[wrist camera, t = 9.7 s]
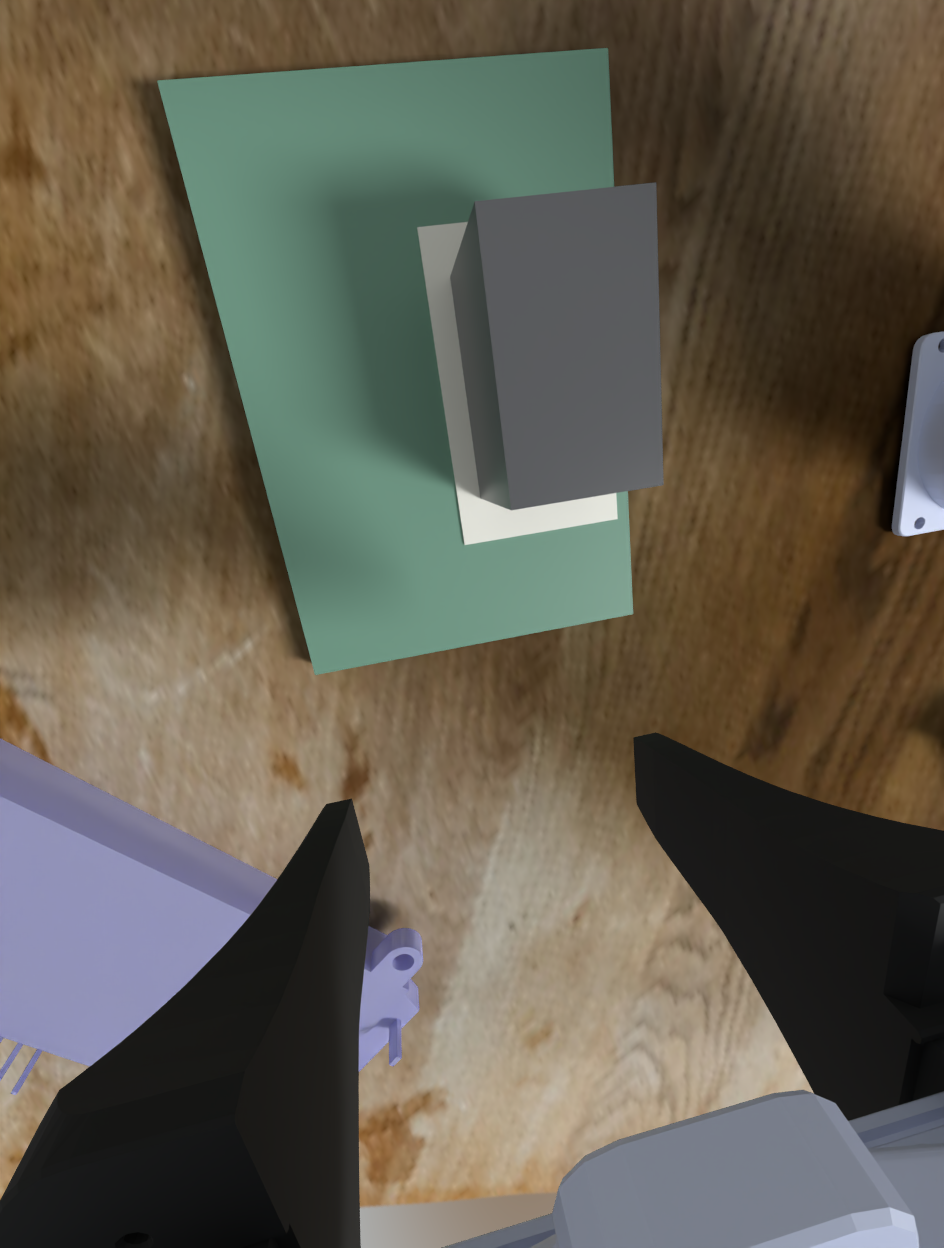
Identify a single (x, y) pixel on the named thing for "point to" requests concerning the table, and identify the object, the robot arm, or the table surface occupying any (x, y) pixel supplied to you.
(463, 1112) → the table surface
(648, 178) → the table surface
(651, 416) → the block
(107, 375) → the table surface
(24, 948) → the computer part
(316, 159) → the header board
